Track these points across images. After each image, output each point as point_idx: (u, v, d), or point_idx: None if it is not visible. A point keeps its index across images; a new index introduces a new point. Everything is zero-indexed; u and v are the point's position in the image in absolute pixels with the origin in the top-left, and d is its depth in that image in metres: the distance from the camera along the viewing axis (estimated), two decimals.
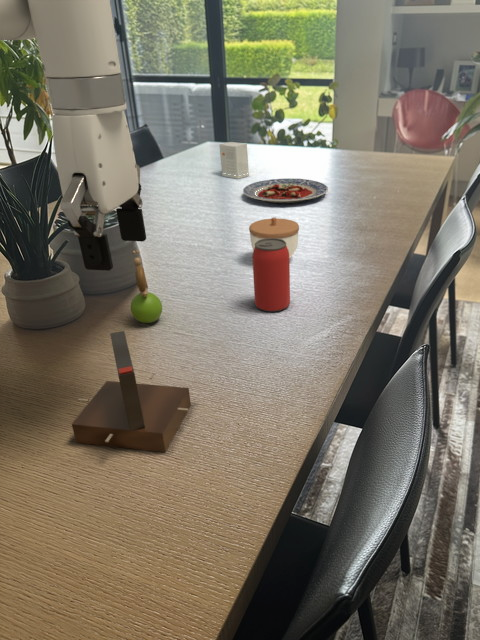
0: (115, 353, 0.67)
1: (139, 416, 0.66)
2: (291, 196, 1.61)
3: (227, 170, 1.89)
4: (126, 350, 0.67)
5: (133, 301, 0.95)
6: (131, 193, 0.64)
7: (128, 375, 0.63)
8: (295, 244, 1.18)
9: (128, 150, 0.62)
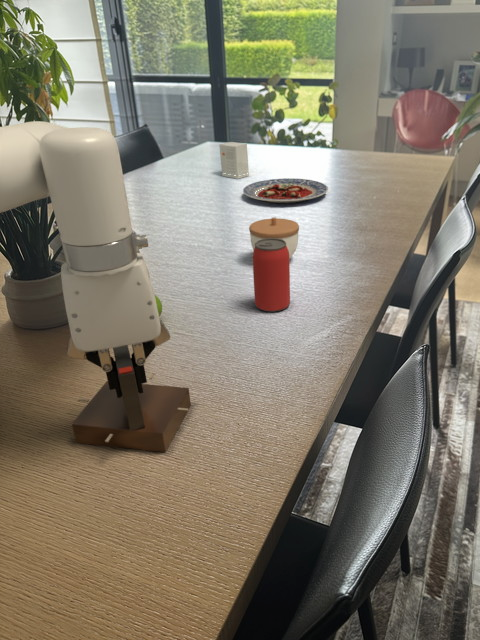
0: (115, 353, 0.67)
1: (139, 416, 0.66)
2: (291, 196, 1.61)
3: (227, 170, 1.89)
4: (126, 350, 0.67)
5: None
6: (137, 339, 0.65)
7: (128, 375, 0.63)
8: (295, 244, 1.18)
9: (135, 304, 0.62)
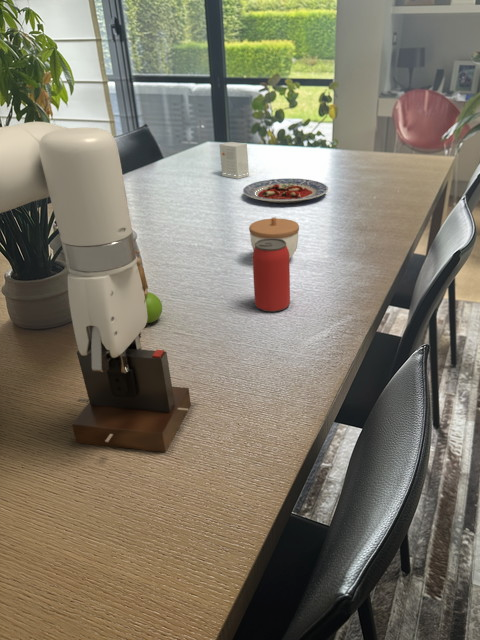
0: None
1: (172, 394, 0.70)
2: (291, 196, 1.61)
3: (227, 170, 1.89)
4: None
5: None
6: (140, 328, 0.67)
7: (164, 355, 0.66)
8: (295, 244, 1.18)
9: (138, 292, 0.65)
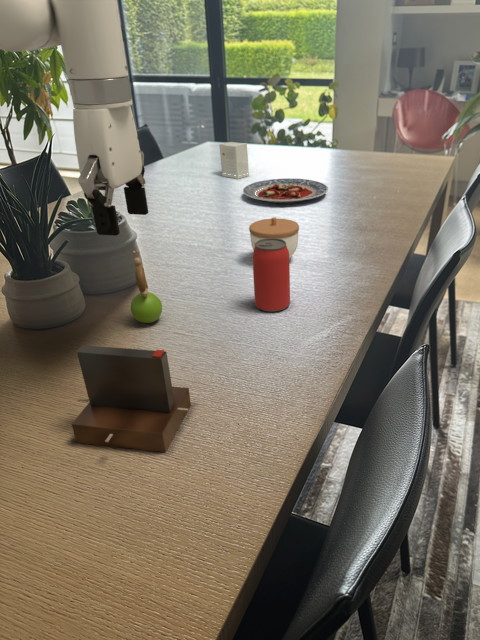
0: (119, 354, 0.67)
1: (172, 394, 0.70)
2: (291, 196, 1.61)
3: (227, 170, 1.89)
4: (122, 349, 0.68)
5: (133, 301, 0.95)
6: (135, 173, 0.78)
7: (164, 355, 0.66)
8: (295, 244, 1.18)
9: (133, 138, 0.76)
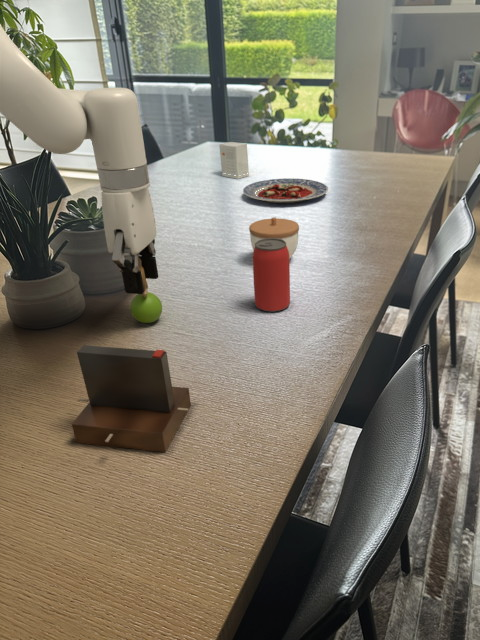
0: (119, 354, 0.67)
1: (172, 394, 0.70)
2: (291, 196, 1.61)
3: (227, 170, 1.89)
4: (122, 349, 0.68)
5: (133, 301, 0.95)
6: (151, 239, 0.92)
7: (164, 355, 0.66)
8: (295, 244, 1.18)
9: (150, 210, 0.90)
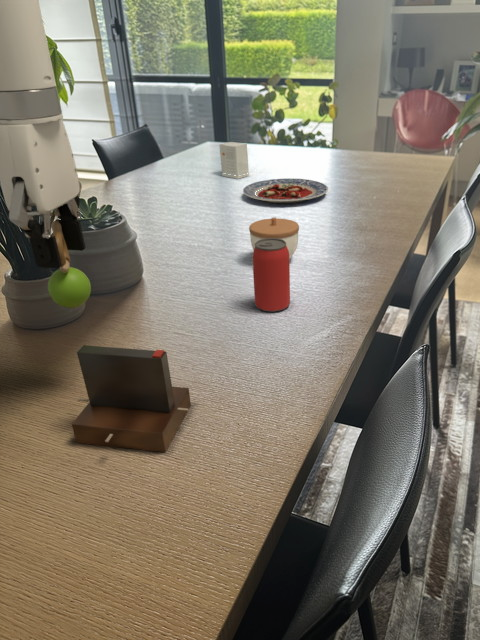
0: (119, 354, 0.67)
1: (172, 394, 0.70)
2: (291, 196, 1.61)
3: (227, 170, 1.89)
4: (122, 349, 0.68)
5: (50, 279, 0.72)
6: (71, 195, 0.70)
7: (164, 355, 0.66)
8: (295, 244, 1.18)
9: (67, 156, 0.67)
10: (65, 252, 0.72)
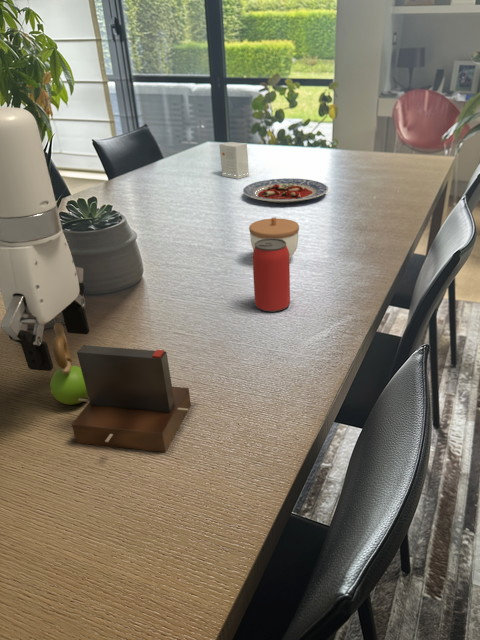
0: (119, 354, 0.67)
1: (172, 394, 0.70)
2: (291, 196, 1.61)
3: (227, 170, 1.89)
4: (122, 349, 0.68)
5: (52, 379, 0.75)
6: (71, 299, 0.72)
7: (164, 355, 0.66)
8: (295, 244, 1.18)
9: (67, 264, 0.70)
10: (67, 353, 0.74)
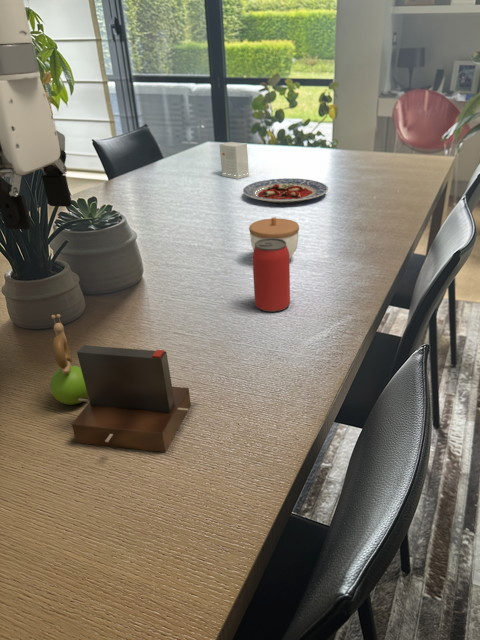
0: (119, 354, 0.67)
1: (172, 394, 0.70)
2: (291, 196, 1.61)
3: (227, 170, 1.89)
4: (122, 349, 0.68)
5: (52, 379, 0.75)
6: (51, 158, 0.68)
7: (164, 355, 0.66)
8: (295, 244, 1.18)
9: (46, 117, 0.66)
10: (67, 353, 0.74)
